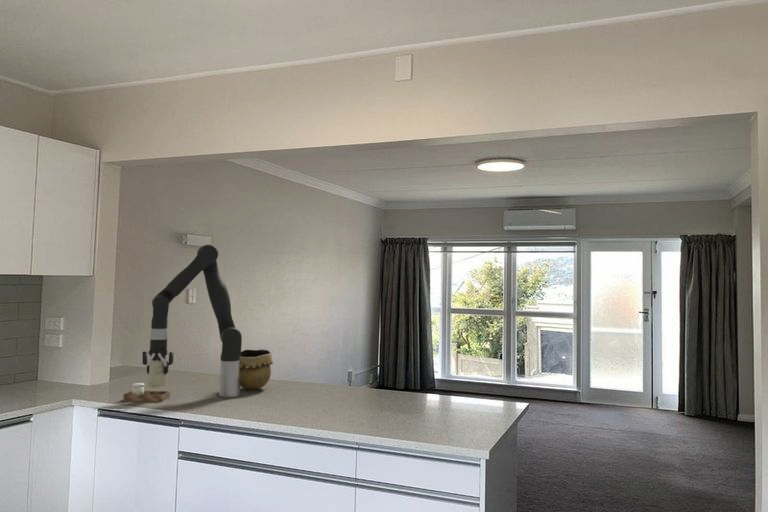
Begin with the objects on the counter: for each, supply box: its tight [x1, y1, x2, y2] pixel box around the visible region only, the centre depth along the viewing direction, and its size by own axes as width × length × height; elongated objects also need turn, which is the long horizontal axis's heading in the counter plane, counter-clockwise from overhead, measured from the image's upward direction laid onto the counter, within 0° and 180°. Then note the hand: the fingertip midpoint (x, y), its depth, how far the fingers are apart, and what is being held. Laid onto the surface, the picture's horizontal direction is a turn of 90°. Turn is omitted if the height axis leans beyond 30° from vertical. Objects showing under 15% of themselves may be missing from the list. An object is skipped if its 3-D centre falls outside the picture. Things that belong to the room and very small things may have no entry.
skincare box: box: [148, 360, 167, 389], centre depth 267 cm, size 6×4×12 cm
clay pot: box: [239, 348, 274, 391], centre depth 299 cm, size 21×21×20 cm
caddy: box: [122, 390, 171, 403], centre depth 266 cm, size 18×9×4 cm, turn 90°
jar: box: [131, 382, 145, 394], centre depth 266 cm, size 5×5×7 cm
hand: (157, 374), depth 267 cm, fingers closed on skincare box, 7 cm apart
